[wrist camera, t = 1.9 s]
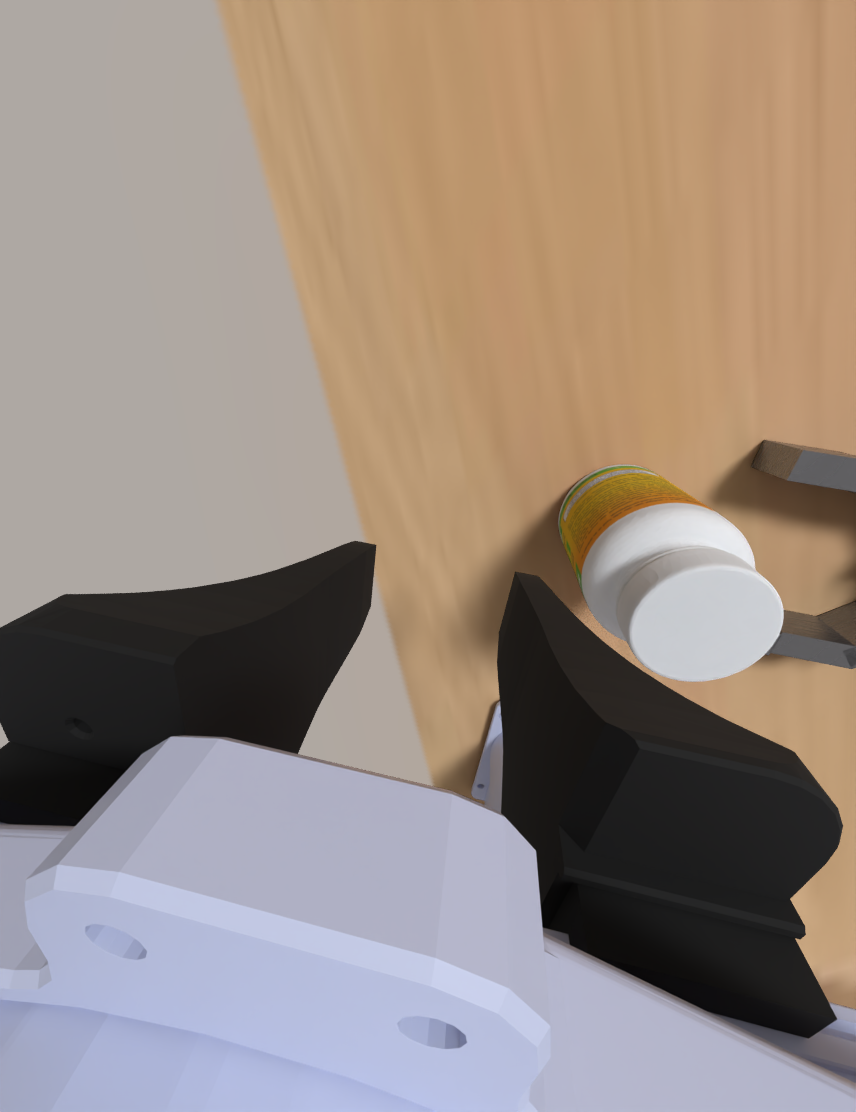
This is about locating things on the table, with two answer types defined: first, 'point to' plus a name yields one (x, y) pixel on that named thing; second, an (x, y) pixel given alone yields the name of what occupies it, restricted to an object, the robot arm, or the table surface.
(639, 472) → the supplement bottle
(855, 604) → the socket
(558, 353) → the table surface
